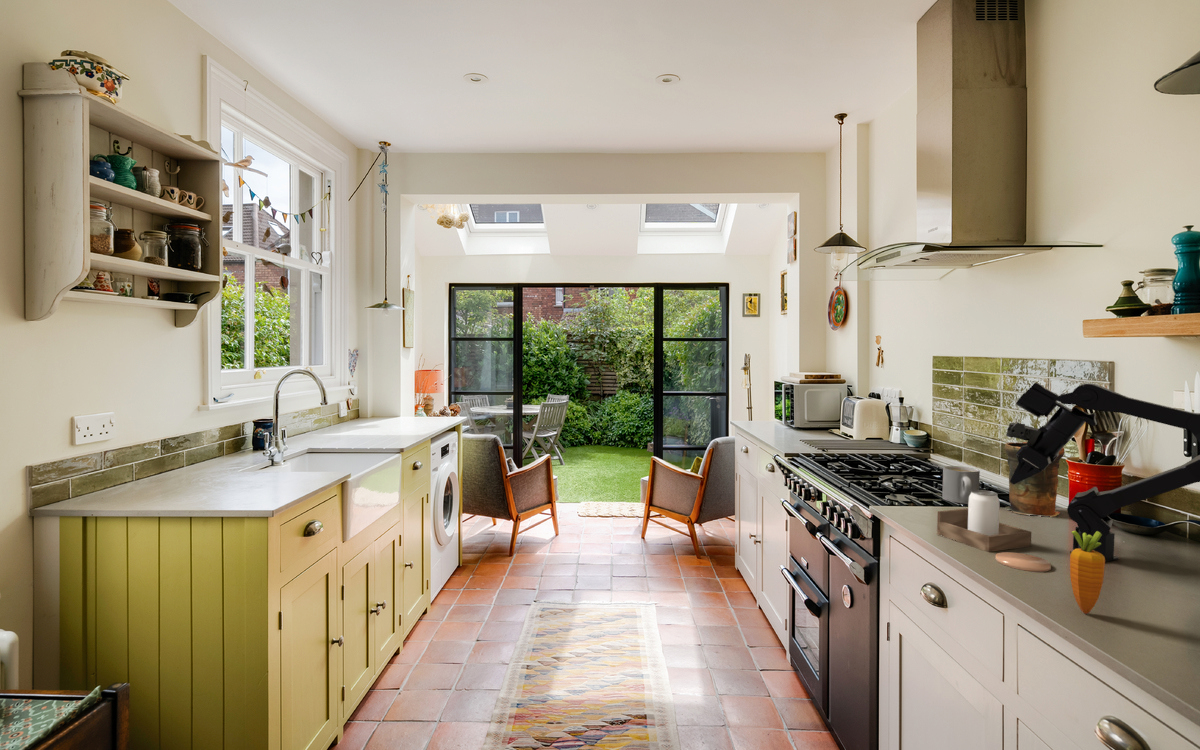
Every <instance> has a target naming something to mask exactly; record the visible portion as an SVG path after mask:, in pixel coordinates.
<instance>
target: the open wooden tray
mask: <svg viewBox="0 0 1200 750" xmlns="http://www.w3.org/2000/svg"><path fill="white" fill-rule="evenodd" d="M936 525H937V526H936V528H937V529H936V535H937V534H938V536H940V535H942V536H941V537H943V536H944V537H943V538H946V537H947V538H946V539H949V538H950V539H949V540H952V539H953V540H952V541H955V540H956V541H955V542H957V543H960V544H963V543H964V545H966V546H970V547H973V548H976V549H979V550H981V551H984V552H986V553H987V552H988V553H990V552H991V553H992V552H997V551H1004V550H1013V549H1021V548H1028V547H1031V546H1032V534H1033V533H1032V531H1031V530H1026V529H1023V528H1020V527H1019V528H1018V527H1015V526H1012V525H1009V524H1005V523H1001V522H999V535H991V536H987V535H984V534H981V533H978V532H974V531H971V530H968V507H967V508H966V507H965V508H958V509H947V510H938V511H937V523H936Z"/></svg>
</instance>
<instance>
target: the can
mask: <svg viewBox="0 0 1200 750" xmlns="http://www.w3.org/2000/svg"><path fill="white" fill-rule="evenodd" d="M967 506H968V507H967V508H968V530H971V531H974V532H978V533H981V534H984V535H987V536H991V535H999V523H1000V499H999V497H998V492H995V491H992V490H991V491H990V490H985V489H979V490H972V491H971V494H970V496H969V503H968V504H967Z"/></svg>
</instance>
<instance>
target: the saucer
mask: <svg viewBox="0 0 1200 750" xmlns="http://www.w3.org/2000/svg"><path fill="white" fill-rule="evenodd" d="M995 561H996V562H997V563H999V564H1001V565H1004V566H1006V567H1009V568H1012V569H1017V570H1020V571H1025V572H1026V571H1028V572H1037V573H1038V572H1039V573H1041V572H1049V571H1050V570H1051V569H1052V564H1051V562H1050V561H1048V560H1046V559H1044V558H1042V557H1038V556H1035V555H1030V554H1027V553H1020V552H1007V551H1006V552H1003V551H1002V552H998V553H996V554H995Z"/></svg>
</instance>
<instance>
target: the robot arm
mask: <svg viewBox="0 0 1200 750" xmlns="http://www.w3.org/2000/svg"><path fill="white" fill-rule="evenodd" d="M1015 405H1016V406H1017V407H1020V408H1021V409H1023V410H1024V411H1026V412H1028V413H1030V414H1031V415H1033V416H1035V417H1037V418H1038V419H1040V418H1041V417H1045V418H1048V417H1050V415H1051V413H1053V411H1055V409H1056V408H1057V407H1058V408H1057V410H1056V411H1055V412H1054V413H1053V415H1052V416H1051V417H1050V418H1049V420H1047V422H1045V424H1044V425H1042V426H1039V428H1036V427H1032V426H1029V425H1026V424H1025V423H1020V422H1019V421H1017V422H1011V423H1009V424H1008V427H1007V431H1006V436H1005V437H1008V438H1015V439H1018V440H1023V441H1025V442H1027V444H1028V445H1024V446H1022V447H1021V448H1020V449H1019V450H1018V452H1017V453H1016V457H1017V459H1018V462H1019V463H1018V466H1017V468H1016V470H1015V472H1014V474H1013V476H1012V478H1011V480H1010V482H1011V483H1012V484H1016V483H1018V482H1020V481H1022V480H1024V479H1026V478H1029V477H1031V476H1033V475H1035V474H1037V473H1039V472H1041V471H1043V470H1044V469H1045V468H1046V467H1047V466H1048V465H1049V464H1051V463H1052V462H1053V461H1054V460H1055V459H1056V458H1057V457H1058V456H1059V452H1060V450H1061V449H1062V448H1064V447H1065V446H1066V445H1067V444H1068V443H1069V442H1070V441H1071V439H1072V438H1073V437H1074V436H1075V435H1076V433H1078V431H1079V430H1080V429H1081V428H1082V427H1083V426H1084V424H1086V423H1087V424H1088V425H1091V426H1092V427H1095V426H1096V425H1098V423H1097V422H1098V421H1097V420H1096V416H1097V415H1096V413H1095V412H1094V413H1093V412H1092V413H1087V412H1085V411H1084V410H1090V411H1099V412H1107V413H1108V412H1110V413H1117V414H1124V415H1129V416H1132V417H1136V418H1139V419H1143V420H1148V421H1152V422H1155V423H1159V424H1162V425H1167V426H1171V427H1173V428H1174V427H1176V428H1179V429H1184V430H1187V431H1189V432H1191V434H1192V435H1193V436H1194V437H1195V439H1196V440H1197V441H1198V443H1199V444H1200V413H1199V412H1192V411H1187V410H1184V409H1183V410H1182V409H1180V408H1176V407H1175V408H1174V407H1171V406H1168V405H1167V406H1166V405H1161V404H1157V403H1154V402H1149V401H1146V400H1141V399H1137V398H1133V397H1128V396H1126V395H1123V394H1121V393H1119V392H1116V391H1114V390H1112V389H1109V388H1107V387H1103V386H1101V385H1098V384H1095V383H1089V382H1088V383H1083V384H1080V385H1078V386H1077V387H1075V388H1074V389H1073V391H1072V392H1068V393H1065V392H1062V393H1061V394H1060V395H1058V394H1057V393H1055V392H1053V391H1051V390H1049V389H1048V388H1046V387H1045V386H1044V385H1042V384H1041V383H1038V382H1034V383H1033V384H1032V385H1031V386H1030V387H1029V388H1028V389H1027V390H1026V391H1025V392H1024V393H1023V394H1022V395H1021V396H1020V397H1019V399H1018V400H1017V401H1016V403H1015ZM1065 405H1075V406H1077V407H1074V408H1073V409H1072V408H1069V407H1068V406H1065ZM1079 408H1080V409H1079ZM1082 409H1083V410H1082ZM1050 459H1051V460H1050ZM1051 461H1052V462H1051ZM1195 483H1200V454H1199V455H1197V456H1195V457H1194V458H1192V459H1191V460H1189V461H1187V462H1186V463H1183V464H1182V465H1179V466H1177V467H1174V468H1170V469H1167V470H1165V471H1163V472H1159V473H1157V474H1154V475H1151V476H1149V477H1148V476H1147V477H1144V478H1142V479H1139V480H1136V481H1134V482H1130V483H1128V484H1126V485H1122V486H1119V487H1116V488H1114V489H1112V490H1105V491H1099V489H1098V487H1097V486H1093V487H1092V488H1089V489H1088V490H1086V491H1082V492H1081V491H1080V492H1077V493H1076V494H1075V496H1074V497H1073V498H1072V499H1071V500H1070V501H1069V504H1068V506H1067V508H1066V509H1067V510H1066V511H1067V515H1068V517H1069V518H1070V519H1071V520H1072V521H1073V522H1075V523H1076V524H1077V526H1075V530H1074V531H1076V532H1077V533H1078V534H1079V535H1080V537H1081V539H1082V542H1083V533H1086V534H1087V535H1091V536H1092V537H1093V535H1094V534H1095V533H1096V531H1098V532H1100V533H1101V534H1102V536H1101V537H1100V539H1099V540H1098V541H1097V542H1099V543H1101V545H1100V546H1098V547H1097V548H1095V549H1093V550H1094V551H1096V552H1099V553H1101V554H1102V555H1103V556H1104V557H1105V563H1107V562H1111V561H1117V560H1119V557H1118V556H1116V555H1115V536H1116V534H1115V532H1112V531H1111V529H1112V525H1113V521H1114V520H1113V519H1112V518H1111V517H1110V516H1109V515H1111V514H1112V513H1114V512H1116V511H1118V510H1119V509H1122V508H1124V507H1126V506H1130V505H1132V504H1135V503H1139V502H1141V501H1145V500H1148V499H1150V498H1154V497H1157V496H1160V495H1162V494H1165V493H1168V492H1170V491H1171V492H1172V491H1173V490H1174V491H1175V490H1177V489H1180V488H1181V489H1182V488H1183V487H1187V486H1189V485H1193V484H1195ZM1091 539H1092V538H1091ZM1091 539H1090V540H1091ZM1075 549H1082V548H1081V547H1080V545H1079V543H1078V541H1077V540H1076V538H1075V536H1074V535H1073V534H1072V550H1070V551H1069V554H1070V555H1071V552H1072V551H1073V550H1075Z"/></svg>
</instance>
